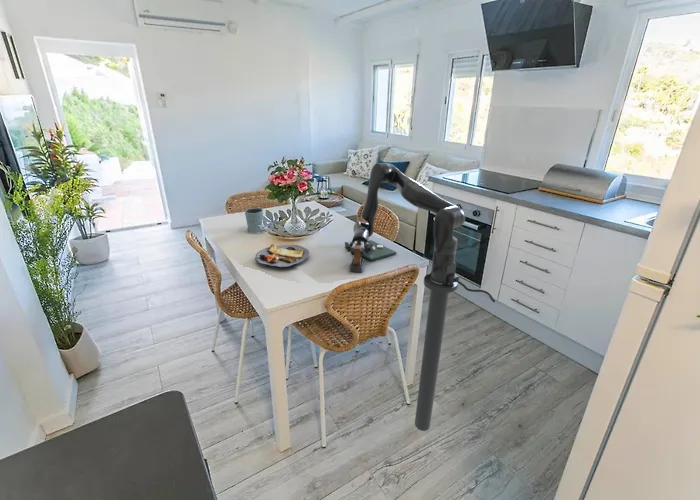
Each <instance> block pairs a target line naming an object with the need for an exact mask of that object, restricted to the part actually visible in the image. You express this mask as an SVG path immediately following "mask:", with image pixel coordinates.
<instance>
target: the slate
mask: <svg viewBox="0 0 700 500" xmlns="http://www.w3.org/2000/svg"><path fill="white" fill-rule="evenodd" d="M368 244H373V247H375V250H371V251H370V252H368V253H366V252H364V255H362V256H361V258H362V257H363V259H366V260H368V261H370V262H374V261H377V260H380V259H385V258H387V257H391V256H395V255H397V251H395V250H393V249H391V248H389V247H387V246H384V245H383V248H377V245H381V243H378V242H376V241H374V240H371V239H369V241H368ZM350 247H351V246H350Z"/></svg>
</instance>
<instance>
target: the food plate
mask: <svg viewBox="0 0 700 500" xmlns="http://www.w3.org/2000/svg"><path fill="white" fill-rule="evenodd" d="M310 255H311V252H310V250H309V249H308V248H307V247H304V246H303V245H297V244H288V243H287V244H278V245H275V244H271V245H270V246H268V247H265V248H263V249H261V250H259V251H258V252H257V253H256V254H255V257H254V259H255V260H256V262H258V264H262V265H266V266H269V267H278V268H285V267H286V268H287V267H291V266H293V265H296V264H297V265H298V264H299V263H302V262H303V261H305V260H306V259H307V258H308V257H310Z"/></svg>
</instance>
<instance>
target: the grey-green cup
mask: <svg viewBox="0 0 700 500" xmlns="http://www.w3.org/2000/svg"><path fill="white" fill-rule="evenodd" d="M244 215H245V220H246V225H247V229H248V232H249V233H259V232H263V231H264V230H262V229H261V228H260V227H259V226H258V225H262V220H263V221H264V210H263V208H259V207H251V208H247V209H245V210H244Z"/></svg>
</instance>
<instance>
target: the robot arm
mask: <svg viewBox="0 0 700 500" xmlns="http://www.w3.org/2000/svg"><path fill="white" fill-rule="evenodd" d="M382 183H384V184H385V183H387V184H390V185H392V186H393V187H395V188H397V190H398V191H399V194H400V196H401V197H402V198H403V199H404V200H405V201H407V202H408V203H410V204H411V205H413V206H414V207H416V208H419V209H421V210H425V211H429V212H431V213H434V214H435V216H434V221H433V239H434V245H433V253H432V260H431V270H430V273H429V274H430V275H431V277H430V280H431V281H432V282H433V283H435V284H438V285H443V286H446V285H449V284H452V283H454V282H457V283H458V285H460V286H461V287H463V288H464V290H466V291H468V292H470V293H471V292H473V293H484V294H486V295H487V296H488V297H489V298H490V301H492V303H496V300H495V298H494V297H493V295H492V294H491V293H490V292H489V291H487V290H484V289H473V288H469V287H467V285H465V284H464V283H463V282H462V281H459V280H460V275H458V274H456V270H457V262H456V254H457V248H458V238H457V237H455V236H454V229H457V228H460V227H461V226H463V225H464V224H465V222H466V215H465V212H464V211H463V210H462V208H460V207H459V206H457V205H456V204H454V203H451V202H449V201H447V200H445V199H444V198H441V197H440V196H439V195H437V194H436V193H434V192H433V191H431V190H430V189H428V188H426V187H425V186H424V185H422V184H420V183H419V182H417V181H416V180H414V179H413V178H412V177H411V178H410V177H409V176H407V175H405V174H404V173H403V172H402V171H401V170H400V169H398V168H397V167H396V166H395V165H394V164H392V163H389V162H377V163H375V164H374V165H373V166H372V167H371V170H370V174H369V180H368V186H367V193H366V198H365V202H364V205H363V208H362V211H361V215H360V217H361V219H363V220H364V221H365V222H364V221H363V220H357V221H356V222H354V225H353V233H354V234H353V236H352V240H351V241H350V242H347V241H346V242H344V248H345V250H346V251H347V252H348V253H350V255H351V256H354V246H355V245H361V251H360V256H361V257H362V255H364V252H366V253H368V252H370V251H371V250H373V244H368V241H369V240H370V238H371V237H372V236H373V234H374V230H375V229H374V227H375V218H376V215H377V213H378V209H379V204H380V203H379V193H378V192H379V188H380V185H381V184H382ZM350 246H351V247H350Z"/></svg>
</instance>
